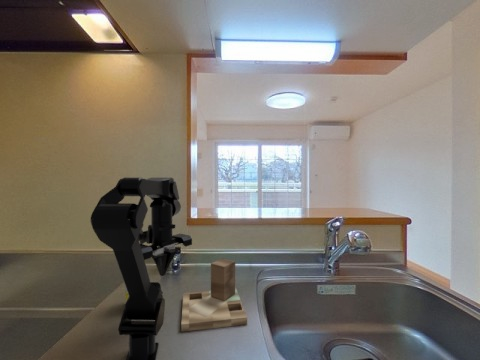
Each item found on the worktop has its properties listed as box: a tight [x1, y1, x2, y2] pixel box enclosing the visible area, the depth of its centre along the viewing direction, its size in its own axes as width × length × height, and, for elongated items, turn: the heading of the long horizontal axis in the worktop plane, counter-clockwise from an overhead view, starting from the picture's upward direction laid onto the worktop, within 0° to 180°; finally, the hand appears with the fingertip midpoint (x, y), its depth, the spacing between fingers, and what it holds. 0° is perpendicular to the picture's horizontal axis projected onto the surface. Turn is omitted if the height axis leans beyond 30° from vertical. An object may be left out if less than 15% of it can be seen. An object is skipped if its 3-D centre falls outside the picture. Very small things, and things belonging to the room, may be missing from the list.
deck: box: [180, 288, 248, 333], centre depth 78 cm, size 18×18×2 cm
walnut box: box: [210, 257, 236, 301], centre depth 84 cm, size 6×6×11 cm
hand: (162, 275), depth 73 cm, fingers closed
